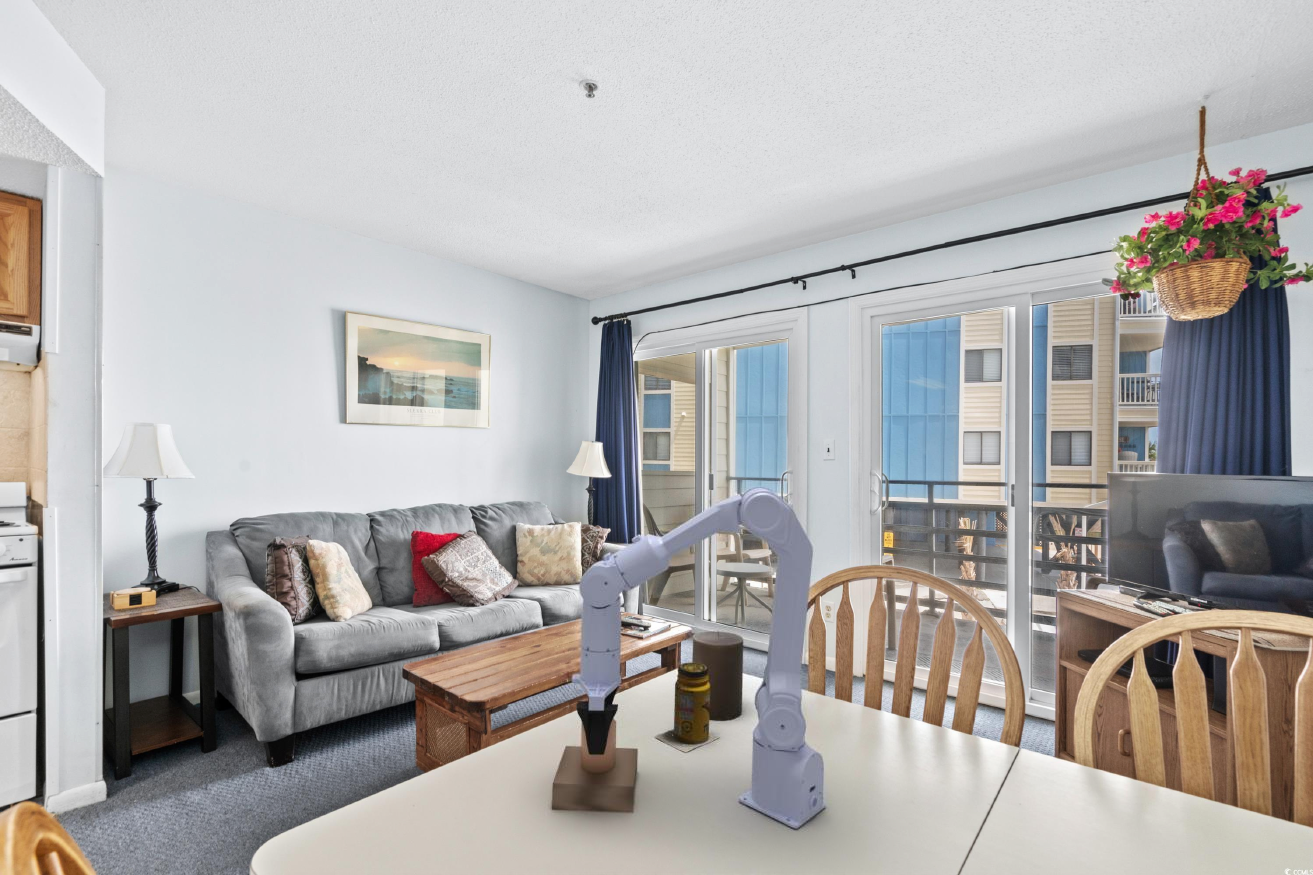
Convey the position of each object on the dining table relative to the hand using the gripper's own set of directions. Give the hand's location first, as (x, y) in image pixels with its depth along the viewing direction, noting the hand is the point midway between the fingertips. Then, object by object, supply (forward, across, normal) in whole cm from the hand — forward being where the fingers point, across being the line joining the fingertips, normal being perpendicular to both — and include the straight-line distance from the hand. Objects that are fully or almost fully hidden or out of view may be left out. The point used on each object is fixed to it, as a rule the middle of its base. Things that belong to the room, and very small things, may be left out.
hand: (598, 740), depth 93 cm
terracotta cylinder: (+3, 0, 0) cm, 3 cm away
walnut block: (+7, 0, 0) cm, 7 cm away
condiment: (+7, -17, +14) cm, 23 cm away
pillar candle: (+7, -29, +20) cm, 36 cm away
